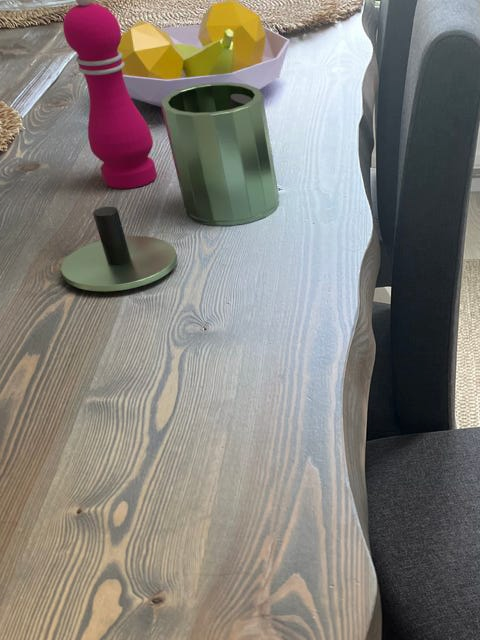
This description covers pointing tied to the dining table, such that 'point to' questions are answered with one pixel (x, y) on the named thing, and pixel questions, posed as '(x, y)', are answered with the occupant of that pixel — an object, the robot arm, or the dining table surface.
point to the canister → (221, 153)
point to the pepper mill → (109, 98)
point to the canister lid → (117, 258)
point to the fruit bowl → (201, 53)
